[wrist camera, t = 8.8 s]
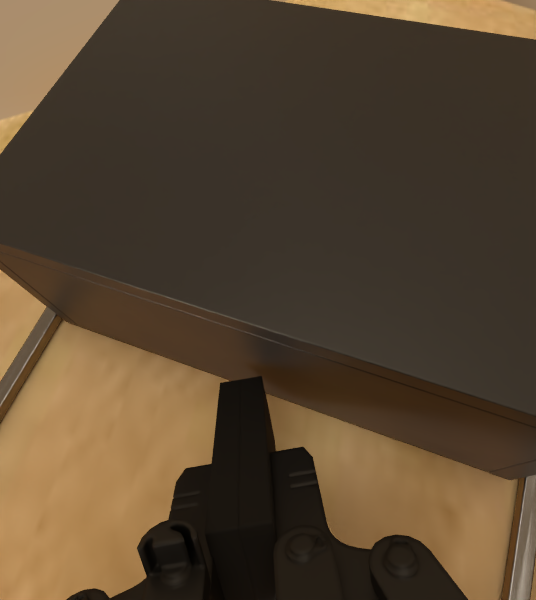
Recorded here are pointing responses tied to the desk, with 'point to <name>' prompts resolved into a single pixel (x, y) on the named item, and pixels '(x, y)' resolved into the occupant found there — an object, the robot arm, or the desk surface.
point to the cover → (298, 211)
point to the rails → (529, 503)
